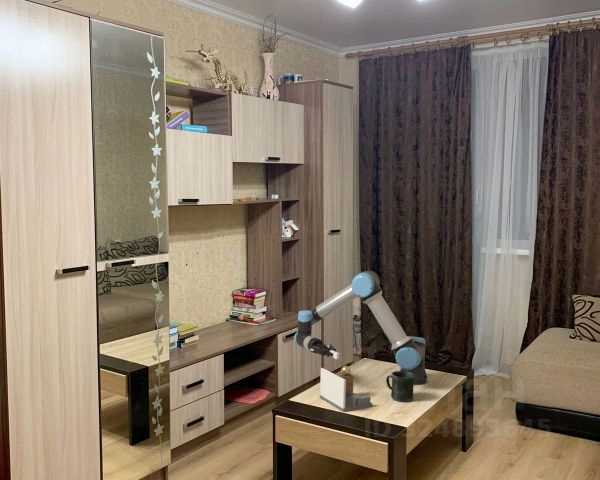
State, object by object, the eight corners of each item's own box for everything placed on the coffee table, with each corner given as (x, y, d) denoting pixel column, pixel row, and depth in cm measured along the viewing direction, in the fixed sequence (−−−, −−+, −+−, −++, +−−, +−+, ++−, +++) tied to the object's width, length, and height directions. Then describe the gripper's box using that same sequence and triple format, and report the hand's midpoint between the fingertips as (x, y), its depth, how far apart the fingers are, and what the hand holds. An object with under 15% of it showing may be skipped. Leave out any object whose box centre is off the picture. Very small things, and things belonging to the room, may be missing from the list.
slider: (336, 392, 295) (337, 365, 293) (347, 390, 298) (348, 363, 296) (342, 395, 290) (343, 368, 289) (353, 394, 293) (353, 366, 292)
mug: (406, 404, 286) (407, 379, 285) (380, 397, 295) (380, 372, 294) (418, 398, 294) (419, 374, 293) (392, 391, 304) (393, 368, 303)
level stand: (320, 398, 292) (320, 368, 291) (348, 393, 300) (348, 364, 299) (343, 411, 275) (344, 380, 273) (372, 406, 282) (373, 375, 281)
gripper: (324, 350, 322) (349, 362, 302) (302, 353, 316) (326, 365, 295) (324, 336, 321) (349, 347, 301) (302, 338, 315) (327, 350, 295)
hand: (338, 356), depth 298 cm, fingers closed
